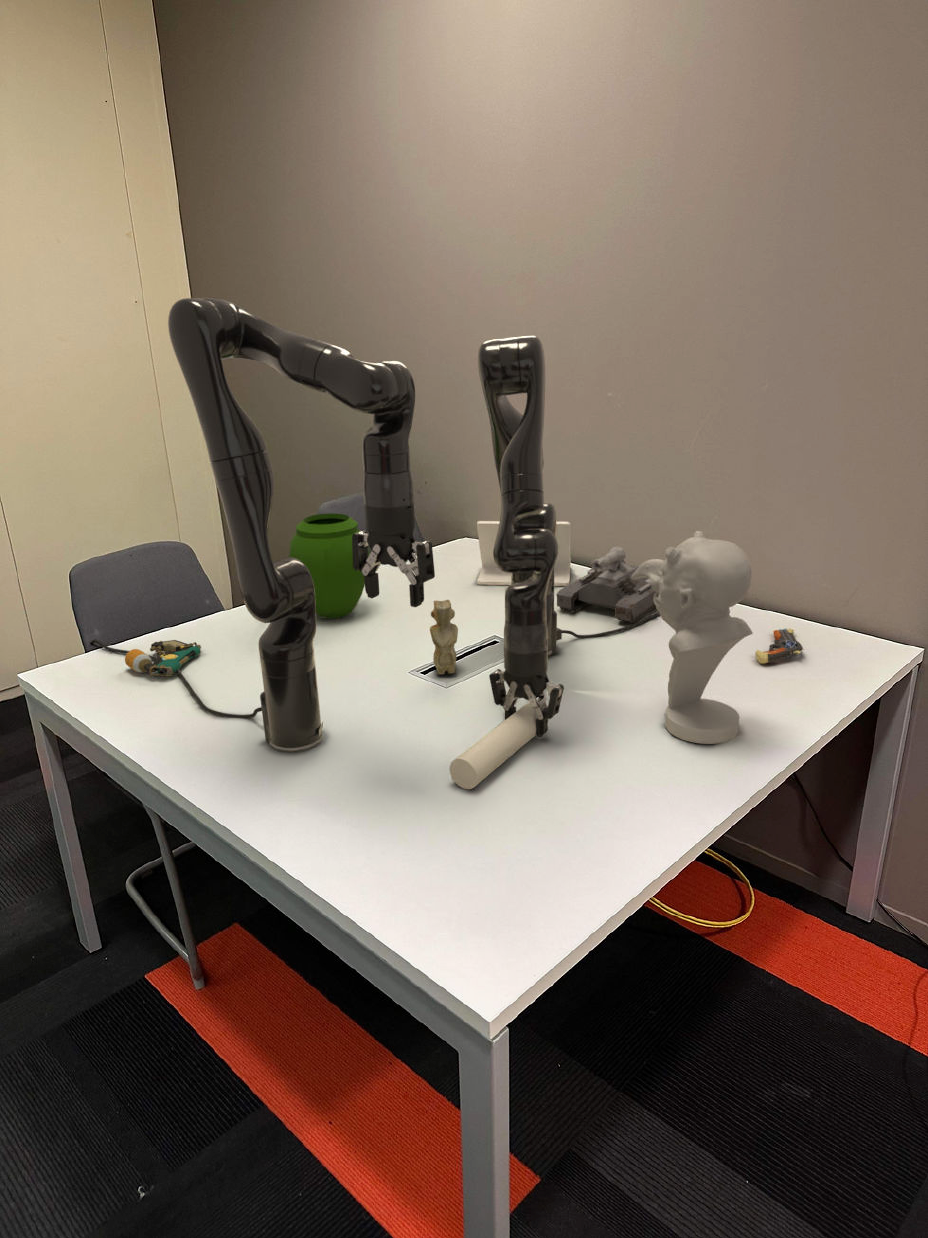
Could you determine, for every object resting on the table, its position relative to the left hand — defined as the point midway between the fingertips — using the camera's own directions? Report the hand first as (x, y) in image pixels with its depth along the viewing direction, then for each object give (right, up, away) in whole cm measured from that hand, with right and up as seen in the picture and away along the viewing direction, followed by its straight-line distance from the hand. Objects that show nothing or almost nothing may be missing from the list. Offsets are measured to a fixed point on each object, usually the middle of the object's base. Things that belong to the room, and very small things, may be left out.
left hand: (394, 601), depth 134 cm
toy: (+49, +1, +80) cm, 94 cm away
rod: (+17, -26, +11) cm, 33 cm away
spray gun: (-54, -13, +53) cm, 77 cm away
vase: (-22, -2, +80) cm, 83 cm away
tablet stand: (+28, +9, +105) cm, 109 cm away
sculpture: (+7, -14, +45) cm, 48 cm away
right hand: (+22, -23, +17) cm, 36 cm away
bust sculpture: (+50, -22, +21) cm, 59 cm away
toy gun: (+79, -10, +51) cm, 94 cm away
